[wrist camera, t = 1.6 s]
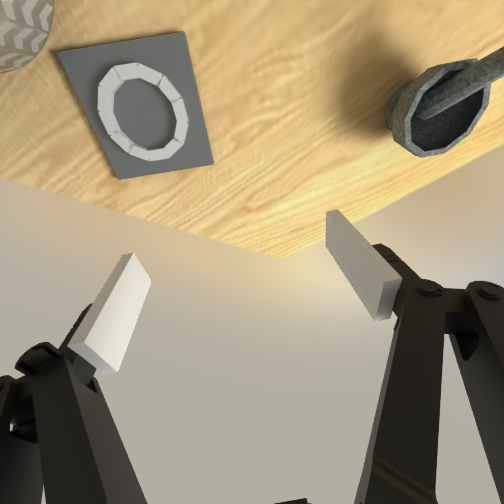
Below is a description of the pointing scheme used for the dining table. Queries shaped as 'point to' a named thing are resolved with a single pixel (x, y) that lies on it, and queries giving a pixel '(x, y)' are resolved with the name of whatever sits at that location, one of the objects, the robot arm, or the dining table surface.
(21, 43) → the planter
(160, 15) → the dining table surface
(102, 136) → the holder
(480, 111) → the mortar and pestle
